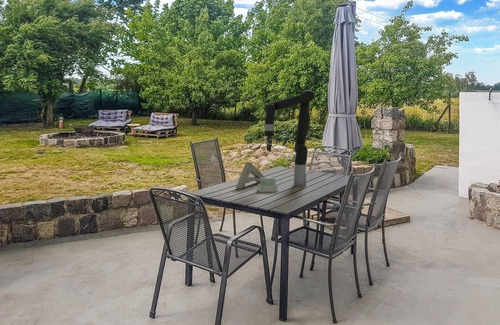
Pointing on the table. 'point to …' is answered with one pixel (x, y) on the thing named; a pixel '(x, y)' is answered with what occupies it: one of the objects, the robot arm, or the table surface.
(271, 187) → the rail
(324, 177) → the table surface
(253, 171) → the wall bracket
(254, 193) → the table surface
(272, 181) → the tapered block
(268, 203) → the table surface
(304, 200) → the table surface
